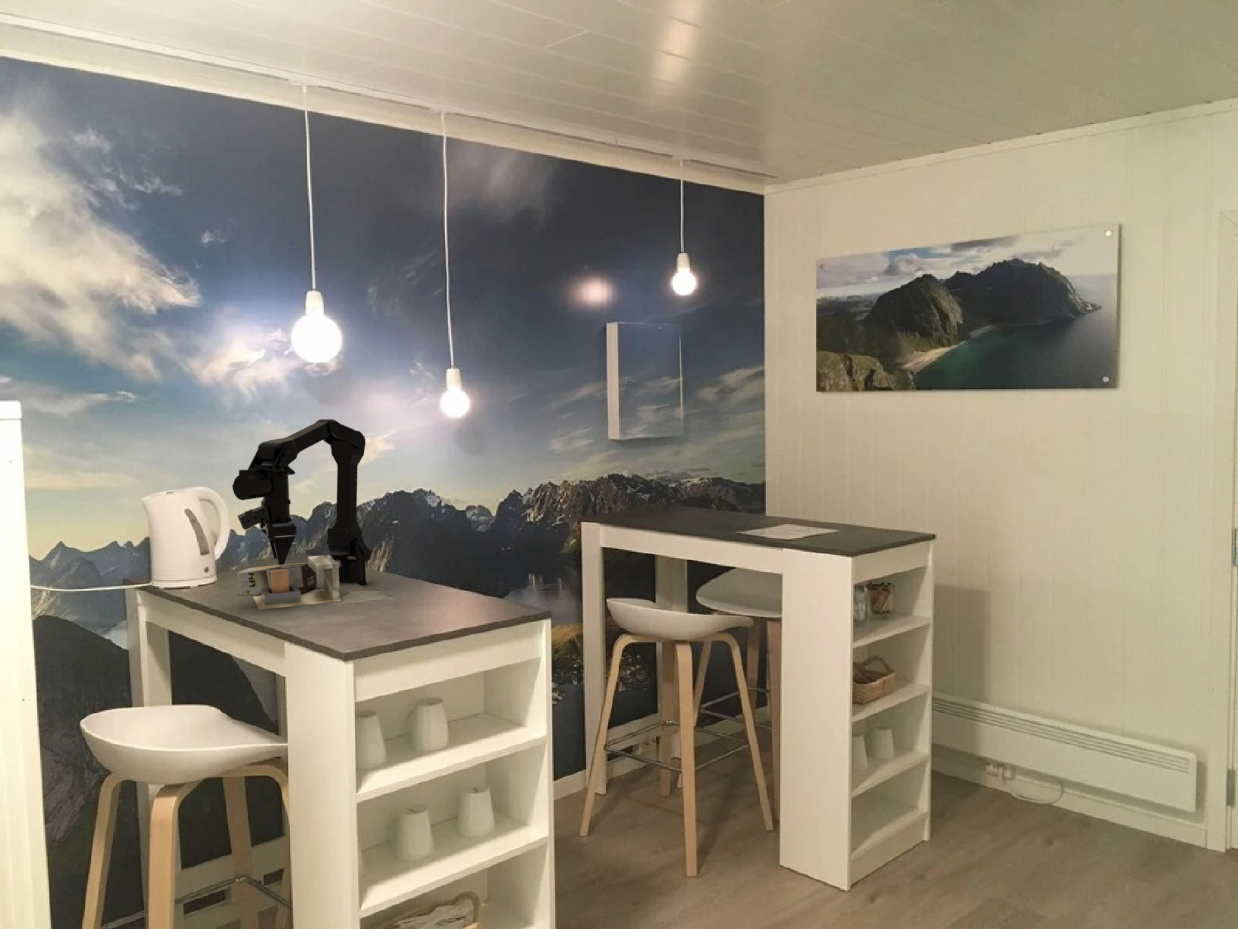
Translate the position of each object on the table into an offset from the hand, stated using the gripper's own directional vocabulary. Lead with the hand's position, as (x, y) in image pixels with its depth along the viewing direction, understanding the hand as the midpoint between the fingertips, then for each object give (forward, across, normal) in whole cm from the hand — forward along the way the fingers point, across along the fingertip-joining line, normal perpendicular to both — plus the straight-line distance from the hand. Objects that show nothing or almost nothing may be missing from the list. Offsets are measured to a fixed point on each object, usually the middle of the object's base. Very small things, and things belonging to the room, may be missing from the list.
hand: (278, 561), depth 229 cm
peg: (+9, 0, 0) cm, 9 cm away
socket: (+9, 0, 0) cm, 9 cm away
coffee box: (+7, -16, -6) cm, 18 cm away
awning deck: (+10, 0, +4) cm, 11 cm away
